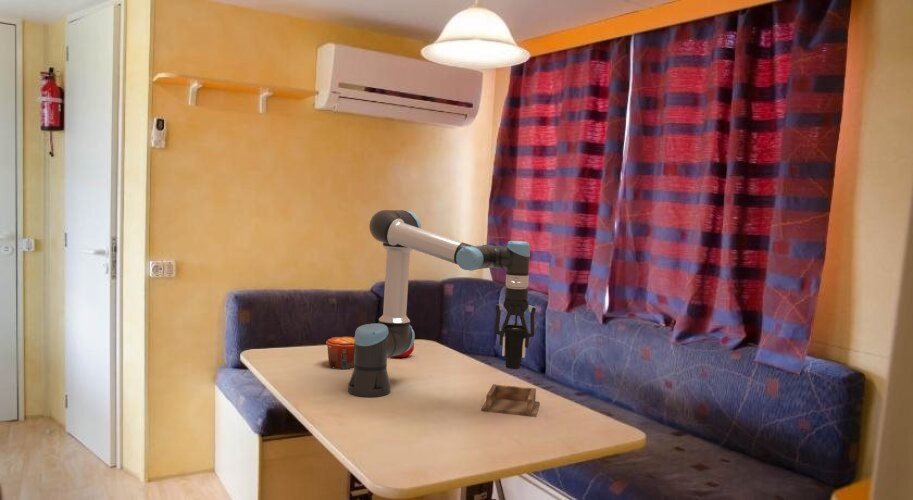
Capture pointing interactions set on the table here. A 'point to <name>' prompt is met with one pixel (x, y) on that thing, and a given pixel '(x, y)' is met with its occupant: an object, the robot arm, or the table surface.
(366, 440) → the table surface
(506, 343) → the drinking cup
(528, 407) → the u rest
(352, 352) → the food container
